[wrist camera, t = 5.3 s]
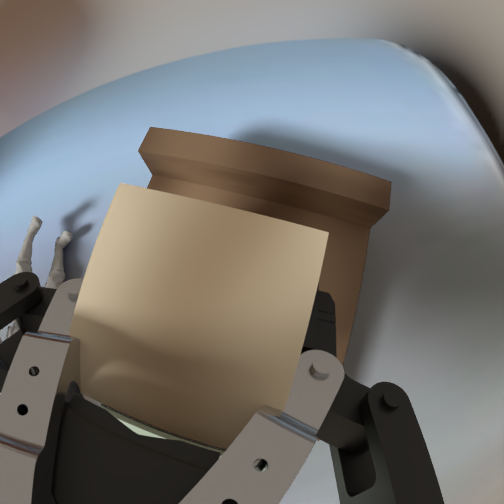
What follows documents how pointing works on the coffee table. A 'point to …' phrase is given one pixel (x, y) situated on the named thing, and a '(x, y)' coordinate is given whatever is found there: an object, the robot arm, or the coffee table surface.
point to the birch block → (194, 312)
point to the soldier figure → (25, 262)
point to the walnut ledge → (279, 199)
